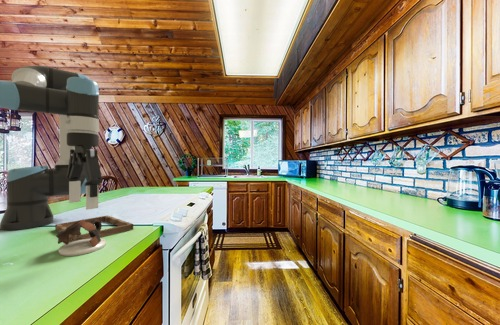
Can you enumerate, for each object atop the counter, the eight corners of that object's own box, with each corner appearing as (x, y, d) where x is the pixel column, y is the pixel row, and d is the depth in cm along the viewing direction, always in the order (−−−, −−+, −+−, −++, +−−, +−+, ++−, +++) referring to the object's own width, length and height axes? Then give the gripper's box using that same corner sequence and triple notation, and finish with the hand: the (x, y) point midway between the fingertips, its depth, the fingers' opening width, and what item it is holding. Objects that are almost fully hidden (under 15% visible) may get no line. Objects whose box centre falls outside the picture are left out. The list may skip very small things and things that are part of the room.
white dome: (53, 249, 65) (53, 246, 65) (97, 238, 73) (97, 235, 73) (65, 259, 58) (65, 255, 58) (112, 246, 67) (112, 243, 67)
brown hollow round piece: (89, 252, 61) (69, 228, 59) (62, 265, 62) (43, 242, 61) (116, 228, 73) (100, 207, 71) (93, 239, 74) (77, 219, 72)
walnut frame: (55, 229, 83) (55, 224, 83) (107, 220, 97) (107, 215, 97) (76, 243, 70) (76, 236, 70) (133, 229, 84) (133, 224, 84)
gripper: (53, 133, 70) (54, 201, 70) (83, 128, 55) (83, 214, 56) (82, 135, 76) (82, 198, 76) (116, 132, 61) (116, 209, 62)
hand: (83, 205), depth 66 cm, fingers open, 13 cm apart
